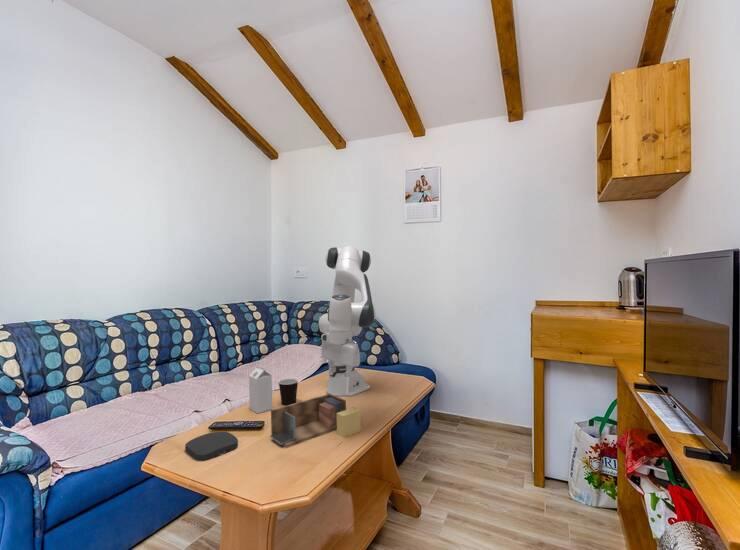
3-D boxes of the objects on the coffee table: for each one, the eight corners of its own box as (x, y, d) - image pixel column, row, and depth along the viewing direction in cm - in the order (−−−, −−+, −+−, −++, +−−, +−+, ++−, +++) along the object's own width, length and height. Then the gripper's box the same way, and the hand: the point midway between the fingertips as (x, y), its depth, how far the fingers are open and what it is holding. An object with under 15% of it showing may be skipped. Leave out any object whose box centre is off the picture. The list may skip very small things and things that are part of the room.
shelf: (330, 417, 153) (329, 393, 153) (346, 425, 145) (345, 400, 145) (271, 437, 136) (270, 410, 136) (286, 447, 128) (285, 418, 128)
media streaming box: (181, 450, 128) (181, 441, 128) (222, 435, 139) (222, 427, 139) (199, 464, 119) (199, 455, 118) (242, 447, 129) (242, 439, 129)
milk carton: (264, 405, 169) (263, 363, 169) (272, 409, 164) (271, 366, 163) (249, 409, 164) (248, 366, 164) (257, 413, 159) (256, 369, 158)
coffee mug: (291, 407, 165) (291, 385, 165) (275, 405, 168) (274, 383, 168) (305, 398, 176) (304, 377, 176) (289, 397, 179) (289, 376, 179)
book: (336, 434, 138) (336, 413, 138) (353, 428, 143) (353, 407, 143) (343, 438, 135) (343, 416, 135) (360, 431, 140) (360, 410, 140)
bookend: (284, 432, 138) (284, 410, 138) (295, 439, 132) (295, 417, 132) (270, 437, 134) (269, 415, 134) (280, 444, 128) (280, 421, 128)
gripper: (364, 340, 135) (364, 378, 135) (332, 333, 151) (331, 368, 151) (350, 342, 131) (350, 381, 131) (318, 335, 147) (318, 370, 147)
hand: (340, 374), depth 141 cm, fingers open, 8 cm apart
